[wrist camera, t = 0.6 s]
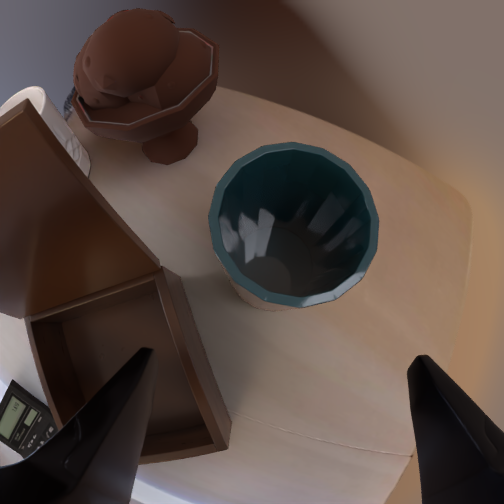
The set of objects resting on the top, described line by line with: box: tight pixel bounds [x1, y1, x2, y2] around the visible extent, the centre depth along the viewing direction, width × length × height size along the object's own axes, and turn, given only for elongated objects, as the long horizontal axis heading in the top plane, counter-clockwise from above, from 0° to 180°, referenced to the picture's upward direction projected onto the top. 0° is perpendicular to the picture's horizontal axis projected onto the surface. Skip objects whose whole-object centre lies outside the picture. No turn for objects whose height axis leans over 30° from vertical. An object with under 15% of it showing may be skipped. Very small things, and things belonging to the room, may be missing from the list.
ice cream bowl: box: [71, 8, 219, 165], centre depth 18 cm, size 11×11×15 cm
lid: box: [0, 98, 161, 319], centre depth 11 cm, size 13×12×4 cm
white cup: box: [0, 86, 91, 178], centre depth 20 cm, size 8×8×10 cm
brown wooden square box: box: [24, 266, 232, 465], centre depth 18 cm, size 12×12×5 cm
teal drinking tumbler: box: [208, 142, 379, 311], centre depth 17 cm, size 7×7×12 cm
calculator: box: [0, 379, 59, 459], centre depth 17 cm, size 9×12×3 cm
